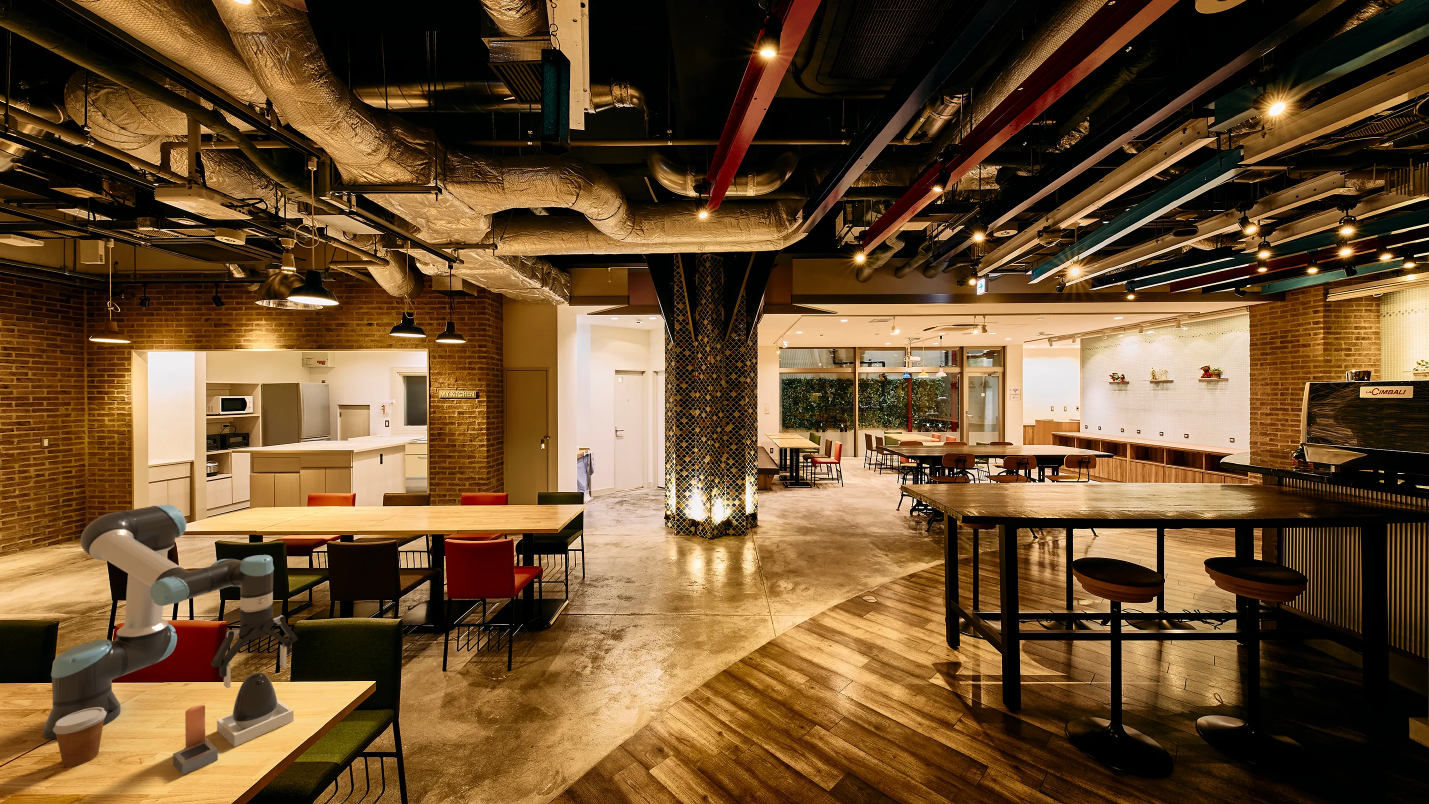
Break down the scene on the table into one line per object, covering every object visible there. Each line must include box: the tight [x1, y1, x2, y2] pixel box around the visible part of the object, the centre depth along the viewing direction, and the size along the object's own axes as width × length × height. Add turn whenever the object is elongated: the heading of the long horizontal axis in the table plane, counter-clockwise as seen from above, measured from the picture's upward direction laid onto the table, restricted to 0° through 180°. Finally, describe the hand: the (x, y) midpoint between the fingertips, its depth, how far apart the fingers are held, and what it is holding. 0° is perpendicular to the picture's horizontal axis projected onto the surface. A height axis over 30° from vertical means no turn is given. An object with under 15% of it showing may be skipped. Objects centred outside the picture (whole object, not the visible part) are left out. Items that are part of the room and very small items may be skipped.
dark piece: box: [232, 672, 278, 728], centre depth 160 cm, size 10×10×15 cm
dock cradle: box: [216, 698, 295, 748], centre depth 160 cm, size 14×14×3 cm
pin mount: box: [172, 738, 219, 776], centre depth 144 cm, size 8×7×3 cm
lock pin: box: [184, 704, 206, 748], centre depth 149 cm, size 4×4×11 cm
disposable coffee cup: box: [53, 707, 107, 768], centre depth 145 cm, size 10×10×12 cm
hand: (256, 676), depth 161 cm, fingers open, 13 cm apart
